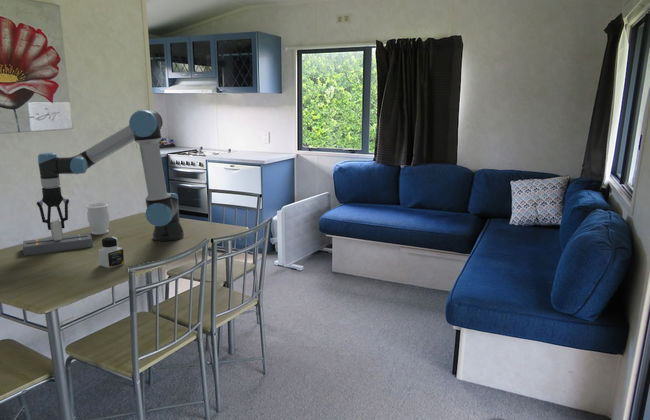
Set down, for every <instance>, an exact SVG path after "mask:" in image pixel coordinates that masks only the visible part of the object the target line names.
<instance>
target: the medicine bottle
mask: <svg viewBox="0 0 650 420" xmlns="http://www.w3.org/2000/svg"><path fill="white" fill-rule="evenodd" d="M101 245H102V247H101V248H100V249H98V250H97V251H98V263H99V266H101V267H104V268H107V269H112V268H115V267H118V266H122V265H124V264H125V259H124V258H125V257H124V248H123V247H119V243H118V238H117V237H115V236H107V237H104V238H102V240H101Z"/></svg>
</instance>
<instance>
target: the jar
mask: <svg viewBox="0 0 650 420" xmlns="http://www.w3.org/2000/svg"><path fill="white" fill-rule="evenodd" d="M86 209H87V211H86V212H87V213H86V215H87V217H86V218H87V222H88V224H89V225H88V226H89V228H90V229H91V233H90V234H91V235H96V236H97V235H98V236H99V235H104V234H108V233H109V231H110V230H109V226H110V216H111V215H110V211H109V203H106V202H105V203H103V202H96V203H91V204H87V205H86Z"/></svg>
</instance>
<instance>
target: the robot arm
mask: <svg viewBox="0 0 650 420" xmlns="http://www.w3.org/2000/svg"><path fill="white" fill-rule="evenodd" d="M162 127H163V118H162V115H160V113H159V112H158V111H156V110H154V109H150V108H149V109H140V110H137V111H135V112H133V113H132V114H131V116H130V118H129V122H128V125H127V126H125V127H123V128H121V129H120V130H118V131H116V132H115V133H113V134H111V135H110V136H108V137H106V138H105V139H103V140H101V141H99V142H97V143H96V144H94V145H92V146H91V147H89V148H87V149H86V150H83V151H82V152H80V153H78V154H77V155H73V156H71V157H58V155H57V153H56V152H43V153H39V154H38V155H37V159H38V160H37V161H38V162H37V163H38V168H39V177H40V184H41V187H42V188H41V192H42V198H41V200H39V201H36V205H37V207H38V209H39V212H40V217H41V221H42V223H45V224H47V229H48V231H51V238H52V237H54V234H53V227H52V221H51V213H52V208H54V207H56V210H57V212H58V216H59V222H60V231H61V236H64V234H63V230H64V229H65V221H68V219H69V209H68V208H69V206H68V205H69V203H70V200H69V198H64V197H63V196H62V188H61V180H60V175H64V174H65V175H68V174H69V175H78V174H81V175H82V174H85V173H86V172H87V170H88V169H90V168H91V167H92V166H95V164H97V163H99V162H101V161H102V160H104V159H105V158H107V157H109V156H111V155H112V154H114V153H116V152H118V151H120V150H121V149H123V148H125V147H126V146H128V145H129V144H132V143H133V142H135V143H137V144H138V146H139V150H140V151H139V152H140V157H141V162H142V163H141V164H142V168H143V172H144V173H143V174H144V179H145V186H146V189H147V190H146V191H147V196H146V197H145V205H146V210H145V218H146V220H147V222H148V223H149V224H151V225H152V226H154V228H153V232H152V239H153V240H155V241H158V242H170V241H176V240H180V238H181V239H182V238H184V237H183V236H184V233H185V232H184V228H182V225H181V223H180V211H179V209H180V208H179V195H178V194H177V193H176V192H175V193H174V192H168V191H167V184H166V178H165V174H164V167H163V160H162V153H161V150H160V149H161V148H160V144H159V143H160V141H161V139H162V133H161V129H162ZM62 202H63V204H64V215H63V213H62V210H61V207H60V204H62ZM44 204H45V205H46V206H47V218H46V217H45V216H46V215H45V213H44V208H43V205H44ZM63 216H64V217H63Z"/></svg>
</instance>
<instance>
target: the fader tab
mask: <svg viewBox="0 0 650 420" xmlns="http://www.w3.org/2000/svg"><path fill="white" fill-rule="evenodd" d="M59 221H60V218H51V222H52V227H53V234H54V241H57V240H62V239H61V231H60V222H59Z"/></svg>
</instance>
